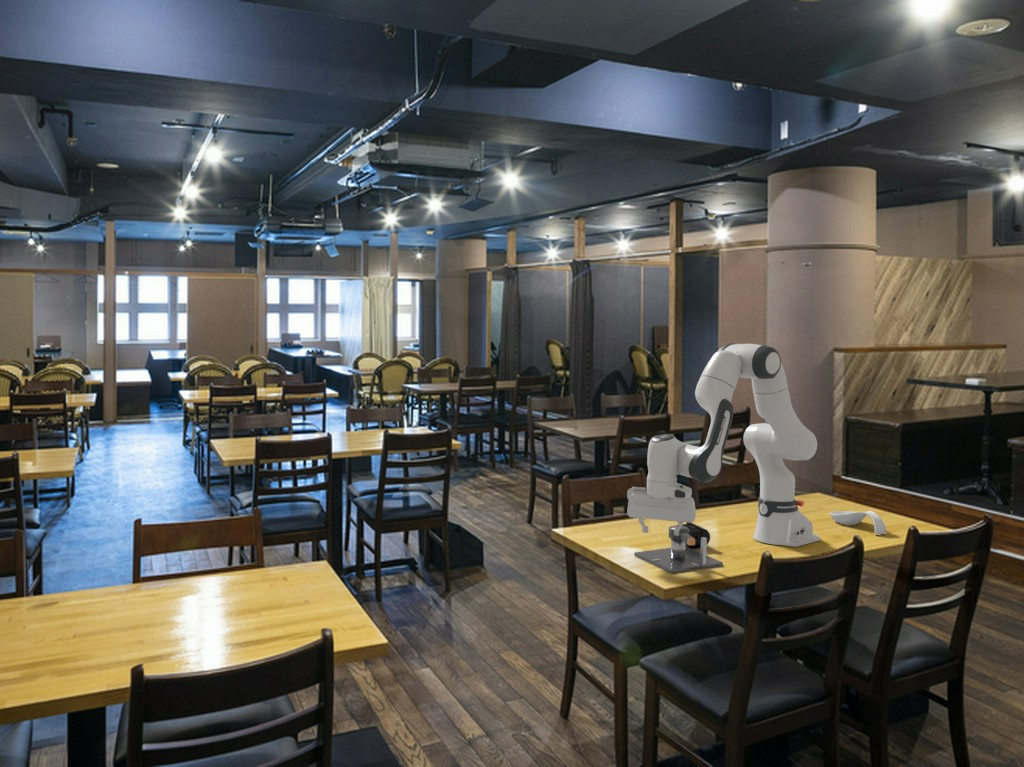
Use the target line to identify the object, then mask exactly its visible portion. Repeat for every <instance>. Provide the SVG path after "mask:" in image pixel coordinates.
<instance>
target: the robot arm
mask: <svg viewBox="0 0 1024 767" xmlns="http://www.w3.org/2000/svg"><path fill="white" fill-rule="evenodd" d="M739 378H740V379H751V389H752V394H753V399H754V405H755V410H756V412H757V414H758V415H759V416H760V417H761V418H762V419H763V420H765V421H766V422H767V423H766V422H764V423H763V422H760V423H753V424H750V425H749V426H748V427H747V428H746V429H745V431H744V433H743V445H744V446H745V448H746V450H747V451H748V452H749V453H750V454H751V456H752V457H753V458H754V460H755V462H756V465H757V468H758V471H759V483H760V485H759V488H760V489H759V490H760V491H759V497H758V501H757V508H758V512H757V519H756V527H755V530H754V533H753V537H752V538H753V539H754V540H756V541H757V542H760V543H764V544H770V545H775V546H776V545H777V546H787V547H794V548H795V547H796V548H797V547H800V546H804V545H807V544H808V545H809V544H812V543H815V542H819V541H821V537H820V535H817V534H816V533H814V526H813V523H812V521H811V520H810V519H809V518H808V517H807V516H805V515H804V514H803V513H802V512H801V511H800V510H799V507H800V508H801V507H804V505H805V501H804V500H801V499H797V500H796V499H795V498H796V497H795V496H796V495H795V494H796V491H795V489H796V477H795V474H793V472H792V471H791V470H790V469H788V467H787V466H786V465H785V463H784V460H788V461H794V462H795V461H796V462H797V461H809V460H810V459H811V458H813V457H814V456H815V454H816V452H817V449H818V440H817V438H816V435H815V434H814V433H813V432H812V431H811V430H810V429H808V428H807V427H806V426H805V425H804V424H803V423H802V421H801V419H800V418H799V417H798V416H797V413H796V411H795V410H794V408H793V405H792V400H791V395H790V391H789V386H788V381H787V376H786V372H785V369H784V366H783V364H782V359H781V355H780V353H779V352H778V350H777V349H776V348H774V347H773V346H770V345H766V344H764V345H762V344H757V343H727V344H723V345H722V346H721V347H719V349H718V350H717V351H716V352H715V353H714V354H712V356H711V358H710V359H709V361H708V362H707V364H706V366H705V367H704V368H703V371H702V373H701V375H700V377H699V380H698V382H697V384H696V387H695V391H694V396H695V400H696V401H697V404H699V406H700V407H701V408H702V409H703V410H704V411H706V412H707V413H708V414H709V417H710V425H709V428H708V432H707V435H706V438H705V442H704V443H703V445H702V446H698V445H692V444H689V443H687V442H686V443H685V442H682V441H680V440H678V439H677V438H676V436H675V435H673V434H668V433H664V434H656V435H654V436H653V437H652V438H650V440H649V443H648V447H647V455H646V456H647V457H646V458H647V459H646V460H647V461H646V464H647V470H648V473H647V476H646V487H645V486H643V487H638V486H632V487H630V488H628V490H627V492H626V496H627V501H628V502H627V511H626V513H627V516H628V517H629V518H635V519H638V523H639V524H640V526H641V529H642V530H641V532H642V533H644V534H648V532H649V525H646V523H645V522H644V521H645V520H646V519H647V520H657V521H669V522H677V525H679V527H678V529H674V536H679V531H680V528H681V527H682V525H683V524H684V523H686V522H689V523H693V522H695V520H696V519H697V518H696V515H697V511H696V503H695V499H694V498H693V497H692V494H693V491H692V490H693V489H692V488H691V487H689V486H687V485H684V484H682V483H679V482H677V480H678V477H677V476H678V475H680V476H683V477H686V478H691V479H693V480H695V481H699V482H700V483H705V484H707V483H710V482H712V481H713V480H715V479H716V478H717V477H718V476H719V474H720V473H721V471H722V467H723V466H722V465H723V457H724V450H725V447H726V444H727V440H728V436H729V434H730V429H731V426H732V422H733V417H734V405H733V403H732V399H733V395H734V392H735V390H736V388H737V384H738V382H739ZM798 506H799V507H798Z"/></svg>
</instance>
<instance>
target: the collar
mask: <svg viewBox="0 0 1024 767" xmlns="http://www.w3.org/2000/svg"><path fill="white" fill-rule="evenodd" d="M678 527H679V526H678V524H677V525H670V526H669V527H668V538H669V540H671V539H673V540H682V541H684V542H685V543H687V544H688V545H695V539H694V538H693V537H691V536H690V535H689V528H688V527H685V526H682V527H681V528H680V531H679V536H674V529H678Z"/></svg>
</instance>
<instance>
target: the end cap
mask: <svg viewBox="0 0 1024 767" xmlns="http://www.w3.org/2000/svg"><path fill="white" fill-rule="evenodd" d="M685 523H686V524H685ZM685 523H683V525H682V526H685V527H688V528H689V535H690V536H691V537H693V538H694V539H695V545H688V544H687V543H686V547H688V548H690V549H692V550H701V538H702V537H705V538H707V545H708V544H709V543H710V541H711V534H710V531H709V530H707V528H706V529H705V528H703V527H702V526H700V525H697V524H696V523H693V522H692V523H689V522H685ZM677 525H678V524H677ZM678 526H679V525H678Z"/></svg>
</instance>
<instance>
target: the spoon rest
mask: <svg viewBox="0 0 1024 767" xmlns="http://www.w3.org/2000/svg"><path fill="white" fill-rule="evenodd" d="M829 515H830V517H831V518H832V520H833V521H835V522H836V523H838V524H839V523H840V525H842V524H844V525H843V526H849V525H854V526H857V525H858V524H860V523H861V522H862V521H863V520H864V519H865V518H866V517H867V516H868V517H869V518H870V519H871V520H872V522H873V525H874V526H873V527H874V536H875V535H877V534H885V533H887V527H886V525H885V524H886V523H884V521H883V519H882V518H881V516H879V515H878V514H877V512H874V511H872V510H867V511H854V510H853V511H851V510H833V511H830V512H829ZM856 524H857V525H856Z"/></svg>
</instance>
